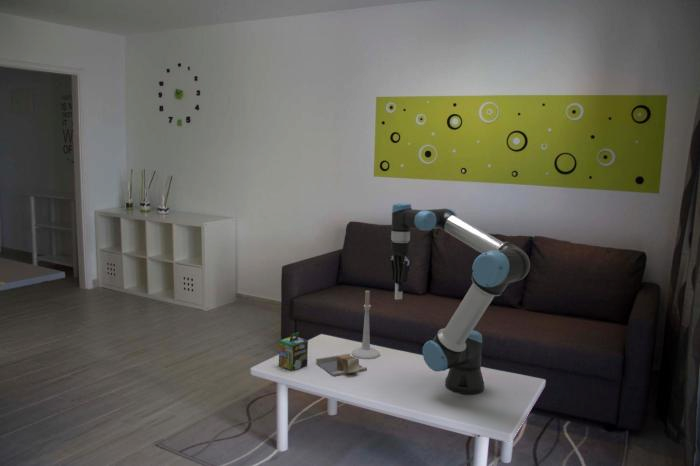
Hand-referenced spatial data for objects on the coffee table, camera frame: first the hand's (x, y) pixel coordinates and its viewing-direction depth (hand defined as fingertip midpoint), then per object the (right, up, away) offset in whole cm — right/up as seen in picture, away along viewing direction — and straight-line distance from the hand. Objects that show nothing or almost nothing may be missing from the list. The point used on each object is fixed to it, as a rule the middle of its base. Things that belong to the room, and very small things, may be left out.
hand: (398, 298), depth 234 cm
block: (-18, -28, +2) cm, 33 cm away
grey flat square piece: (-23, -31, +12) cm, 40 cm away
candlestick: (-12, -29, +29) cm, 43 cm away
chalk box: (-44, -30, +12) cm, 55 cm away
